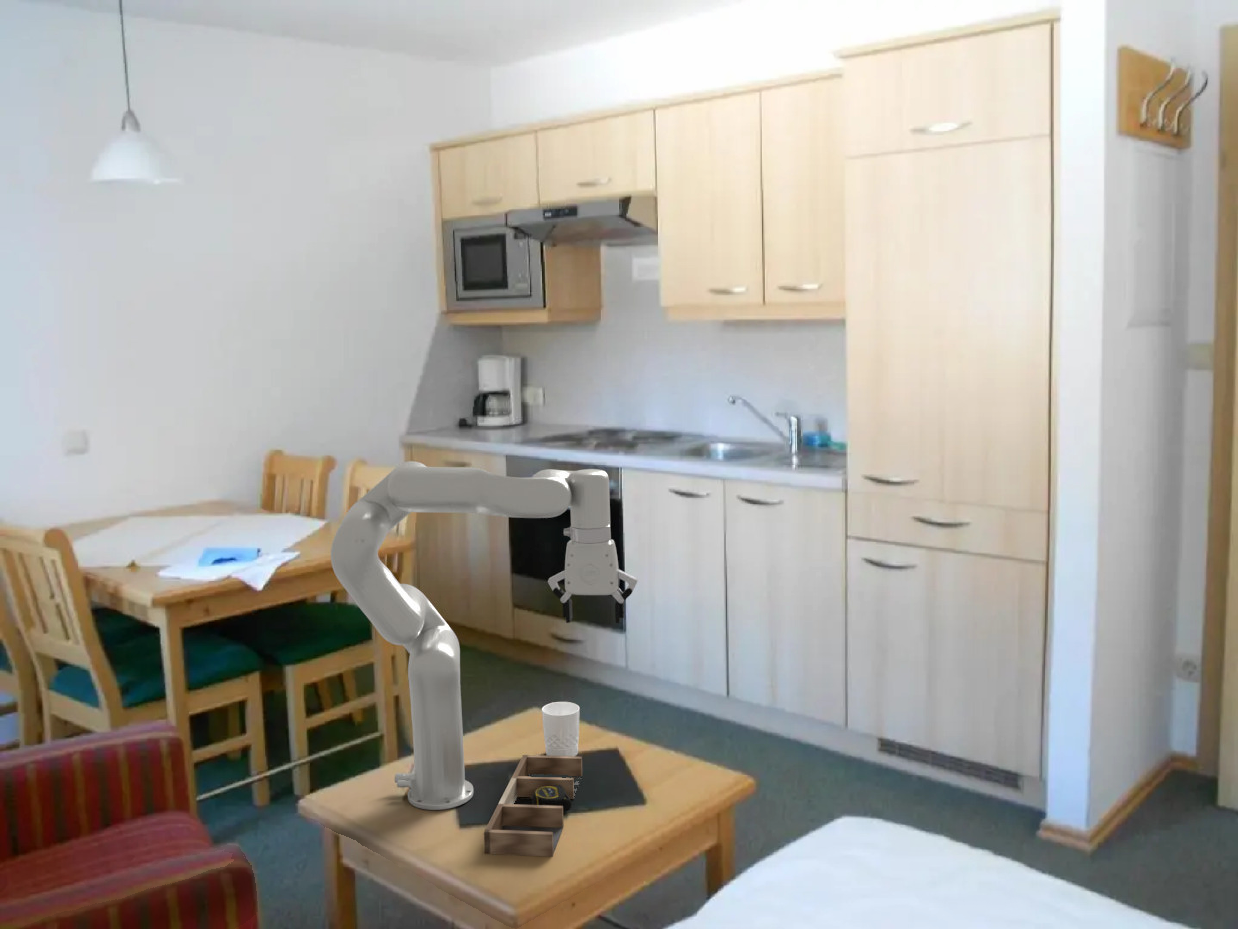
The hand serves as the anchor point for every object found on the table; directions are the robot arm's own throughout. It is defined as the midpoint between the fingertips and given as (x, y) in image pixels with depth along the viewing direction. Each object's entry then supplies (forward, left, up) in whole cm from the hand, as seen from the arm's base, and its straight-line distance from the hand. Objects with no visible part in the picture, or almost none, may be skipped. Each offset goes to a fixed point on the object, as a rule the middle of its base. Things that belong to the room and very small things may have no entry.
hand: (593, 621), depth 220 cm
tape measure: (-7, -11, -34) cm, 36 cm away
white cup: (-10, +14, -34) cm, 38 cm away
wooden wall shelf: (-10, -13, -33) cm, 37 cm away
